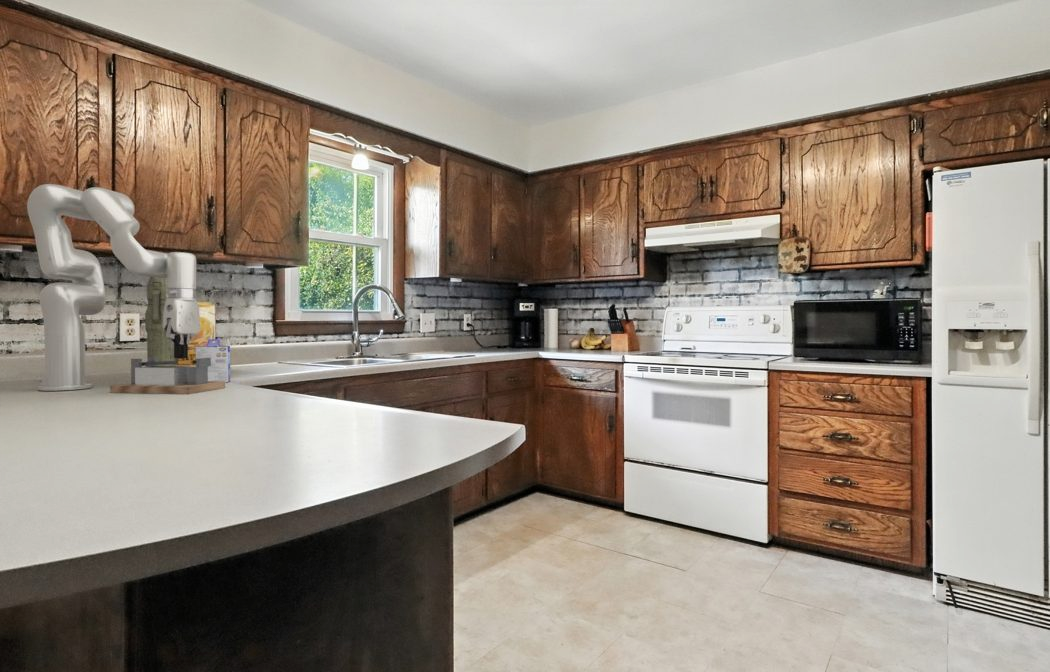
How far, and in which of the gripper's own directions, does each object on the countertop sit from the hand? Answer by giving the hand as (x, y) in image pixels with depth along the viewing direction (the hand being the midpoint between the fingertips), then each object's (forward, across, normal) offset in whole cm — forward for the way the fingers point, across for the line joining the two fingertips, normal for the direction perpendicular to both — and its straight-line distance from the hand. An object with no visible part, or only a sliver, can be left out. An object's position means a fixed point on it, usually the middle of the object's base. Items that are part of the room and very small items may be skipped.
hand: (180, 358), depth 171 cm
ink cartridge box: (+10, +24, +6) cm, 27 cm away
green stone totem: (+10, +18, +20) cm, 29 cm away
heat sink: (+8, 0, +3) cm, 8 cm away
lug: (+7, 0, -6) cm, 10 cm away
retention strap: (+2, 0, +4) cm, 4 cm away
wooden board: (+10, 0, +3) cm, 10 cm away
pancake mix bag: (+10, +32, +22) cm, 40 cm away
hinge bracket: (+8, 0, +11) cm, 14 cm away
